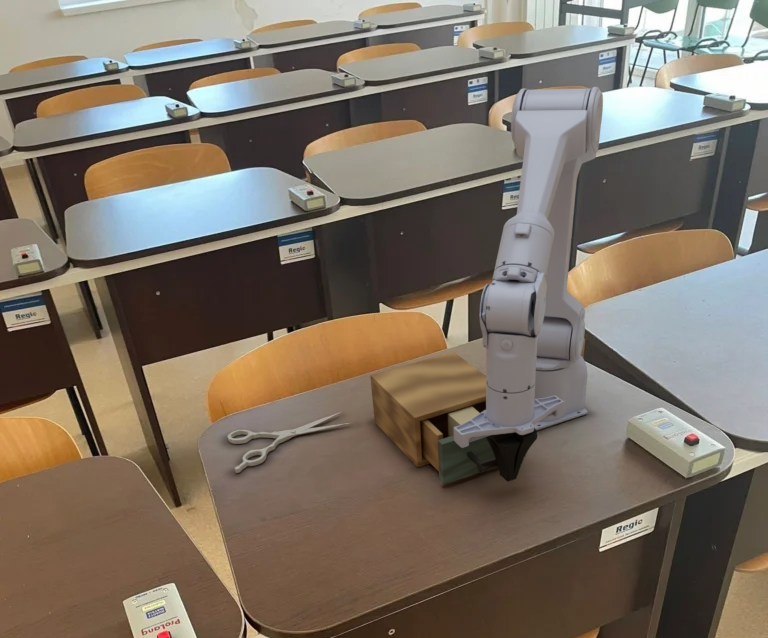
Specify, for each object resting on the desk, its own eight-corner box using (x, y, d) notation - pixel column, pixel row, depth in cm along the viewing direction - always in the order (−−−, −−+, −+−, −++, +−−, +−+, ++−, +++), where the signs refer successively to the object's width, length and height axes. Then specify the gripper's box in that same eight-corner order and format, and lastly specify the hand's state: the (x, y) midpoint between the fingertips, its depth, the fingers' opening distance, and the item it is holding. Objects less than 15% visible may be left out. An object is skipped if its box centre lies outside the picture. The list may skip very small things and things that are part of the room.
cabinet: (503, 439, 110) (504, 390, 105) (417, 467, 106) (414, 417, 101) (454, 398, 121) (453, 351, 116) (374, 422, 117) (370, 375, 112)
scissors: (216, 436, 115) (336, 400, 121) (217, 440, 116) (337, 404, 122) (235, 469, 107) (363, 429, 113) (236, 474, 108) (363, 433, 114)
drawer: (542, 471, 101) (545, 431, 98) (458, 500, 98) (458, 460, 94) (475, 414, 114) (475, 377, 111) (399, 438, 111) (396, 400, 107)
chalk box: (471, 436, 108) (471, 405, 105) (488, 451, 104) (488, 419, 101) (448, 444, 106) (447, 413, 103) (464, 459, 103) (463, 427, 100)
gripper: (474, 413, 84) (474, 510, 92) (582, 379, 88) (573, 474, 96) (443, 387, 89) (446, 481, 97) (547, 356, 93) (541, 449, 101)
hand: (507, 476), depth 97 cm, fingers closed, pressing on drawer
